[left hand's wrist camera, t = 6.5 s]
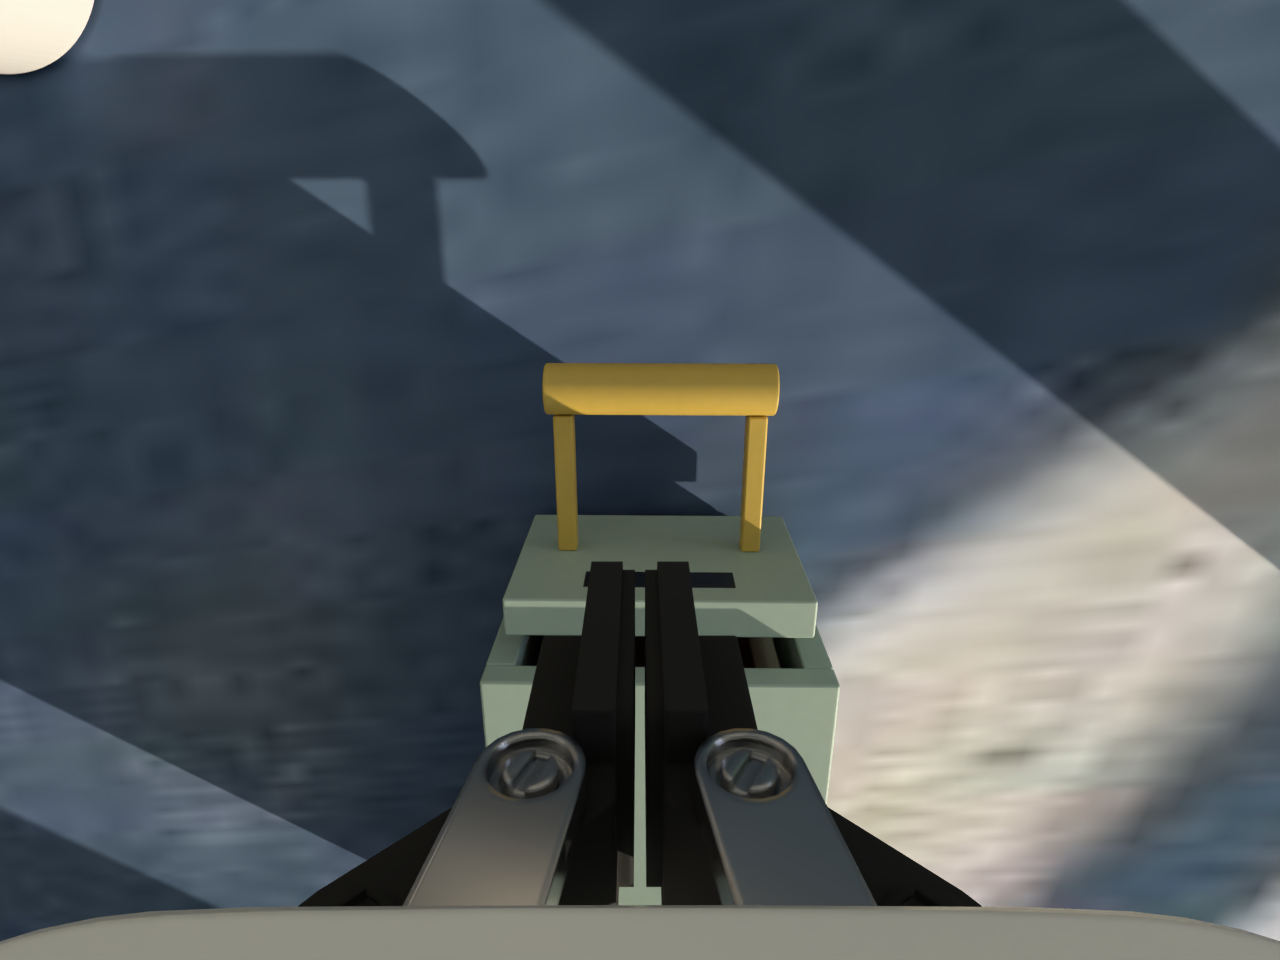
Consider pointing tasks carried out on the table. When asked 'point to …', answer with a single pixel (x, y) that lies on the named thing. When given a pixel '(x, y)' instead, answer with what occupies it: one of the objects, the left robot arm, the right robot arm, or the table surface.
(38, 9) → the coffee cup
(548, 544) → the drawer
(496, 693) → the cabinet
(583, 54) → the table surface
